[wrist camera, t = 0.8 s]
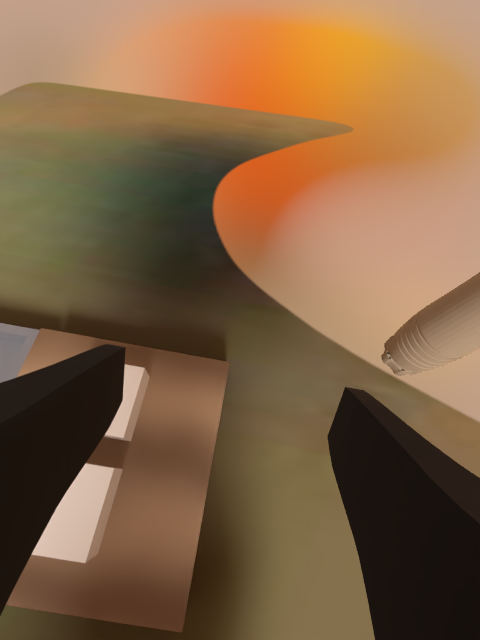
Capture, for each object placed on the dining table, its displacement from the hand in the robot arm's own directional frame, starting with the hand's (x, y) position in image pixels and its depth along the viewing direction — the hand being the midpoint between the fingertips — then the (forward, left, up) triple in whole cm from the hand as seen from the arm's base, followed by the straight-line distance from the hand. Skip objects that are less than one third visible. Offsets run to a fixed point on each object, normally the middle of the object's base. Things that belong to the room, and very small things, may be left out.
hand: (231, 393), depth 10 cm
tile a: (-5, +7, -10) cm, 13 cm away
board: (-2, +7, -13) cm, 15 cm away
